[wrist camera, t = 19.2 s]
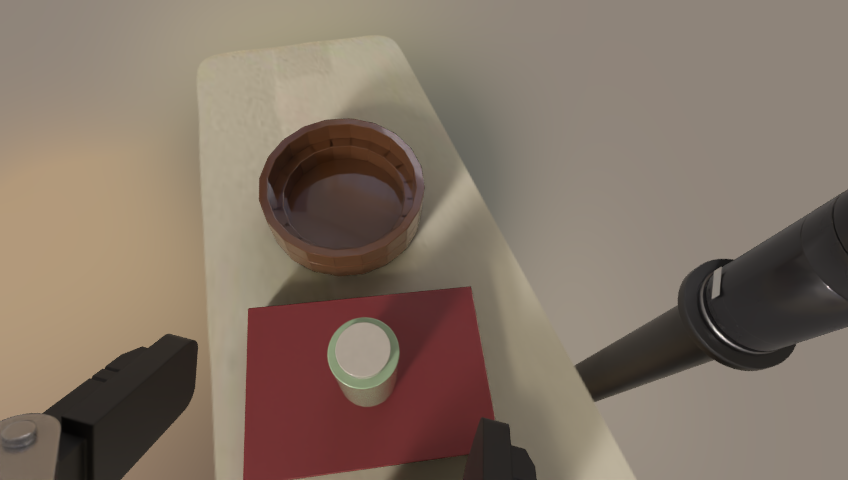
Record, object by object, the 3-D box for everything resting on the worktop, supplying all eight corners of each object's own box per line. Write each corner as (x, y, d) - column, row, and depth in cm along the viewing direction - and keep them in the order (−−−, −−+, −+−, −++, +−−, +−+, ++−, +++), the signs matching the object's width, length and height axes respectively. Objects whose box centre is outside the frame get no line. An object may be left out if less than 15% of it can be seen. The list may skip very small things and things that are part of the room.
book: (467, 296, 47) (472, 286, 45) (494, 451, 41) (501, 449, 39) (256, 318, 45) (248, 308, 42) (252, 485, 39) (242, 485, 36)
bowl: (411, 144, 55) (413, 114, 50) (429, 270, 48) (434, 248, 44) (271, 152, 53) (260, 122, 49) (269, 284, 46) (257, 264, 42)
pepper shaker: (394, 345, 42) (396, 309, 33) (399, 403, 40) (403, 382, 31) (338, 351, 41) (324, 317, 32) (341, 410, 39) (327, 391, 30)
